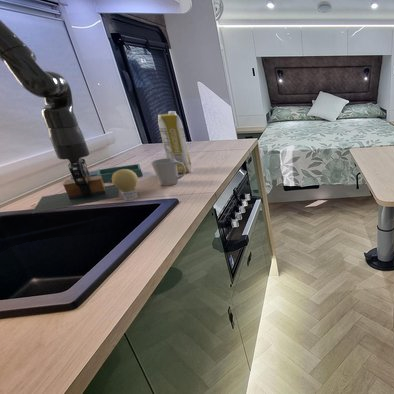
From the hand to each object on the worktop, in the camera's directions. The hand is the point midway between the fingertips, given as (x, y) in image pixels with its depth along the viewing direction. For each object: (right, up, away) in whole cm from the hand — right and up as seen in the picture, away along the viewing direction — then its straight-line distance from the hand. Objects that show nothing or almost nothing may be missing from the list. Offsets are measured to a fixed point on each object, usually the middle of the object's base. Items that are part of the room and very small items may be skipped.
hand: (88, 193), depth 95 cm
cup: (+21, +4, +12) cm, 24 cm away
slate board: (-1, -2, -2) cm, 3 cm away
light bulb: (+17, -2, -3) cm, 17 cm away
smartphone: (-15, +7, +20) cm, 26 cm away
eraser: (0, 0, 0) cm, 0 cm away
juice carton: (+16, +9, +26) cm, 31 cm away
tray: (-3, +6, +18) cm, 19 cm away
